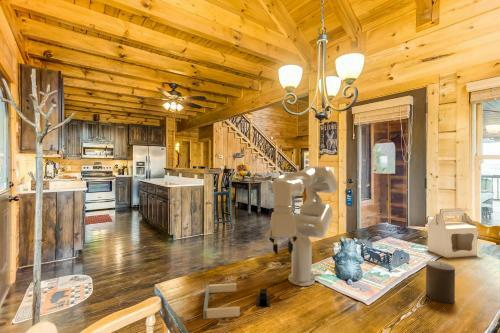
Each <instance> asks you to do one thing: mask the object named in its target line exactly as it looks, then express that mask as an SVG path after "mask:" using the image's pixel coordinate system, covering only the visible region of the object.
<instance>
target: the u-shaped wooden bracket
mask: <svg viewBox="0 0 500 333" xmlns="http://www.w3.org/2000/svg"><path fill="white" fill-rule="evenodd" d="M228 292H237V283H236V282H234V283H218V284H217V283H216V284H206V286H205V294H204V303H203V314H202V315H203V318H202V319H203V320H205V319H208V320H209V319H220V318H222V319H223V318H233V317H234V318H235V317H240V314H241V312H240V309H241V308H240V306H239V305H238V306H228V307H227V306H224V307H223V306H222V307H211V308H210V307H209V297H210V294H213V293H214V294H215V293H228Z"/></svg>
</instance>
